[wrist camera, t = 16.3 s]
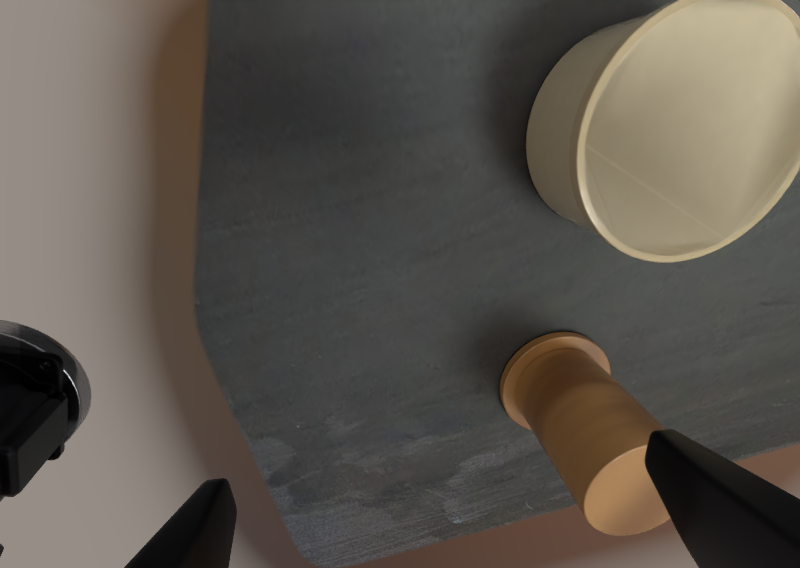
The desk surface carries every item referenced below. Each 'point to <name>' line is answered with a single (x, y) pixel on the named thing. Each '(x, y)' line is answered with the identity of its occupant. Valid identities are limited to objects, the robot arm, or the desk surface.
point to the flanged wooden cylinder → (586, 429)
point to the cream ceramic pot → (672, 126)
